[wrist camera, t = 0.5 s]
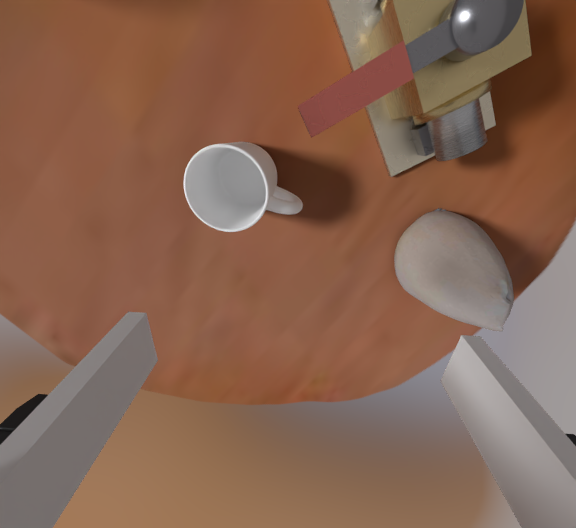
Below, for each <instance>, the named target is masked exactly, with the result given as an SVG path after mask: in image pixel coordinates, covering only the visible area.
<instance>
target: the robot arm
mask: <svg viewBox="0 0 576 528" xmlns="http://www.w3.org/2000/svg"><path fill="white" fill-rule="evenodd" d="M157 361H158V359H157V355H156V351H155V347H154V343H153V339H152V335H151V330H150V326H149V322H148V318H147V314H146V313H138V312H128V313H127V314H126V315H125V316H124V317H123V318H122V319H121V320H120V321H119V322H118V323H117V324H116V325H115V326H114V327H113V328H112V329H111V330H110V331H109V332H108V333H107V334H106V336H105V337H104V338H103V339H102V340H101V341H100V342H99V343H98V344H97V345H96V346H95V347H94V348H93V349H92V350H91V351H90V352H89V353H88V354H87V355H86V356H85V357H84V358H83V359H82V361H81V362H80V363H79V364H78V365H77V366H76V367H75V368H74V369H73V370H72V371H71V372H70V373H69V374H68V375H67V376H66V377H65V378H64V380H62V381H61V383H60V384H59V385H57V387H56V388H55V389H54V390H53V391H52V392H51V393H50V394H49V395H44V394H38V395H36V396H35V397H33V398H32V399H30V400H29V401H27V402H26V403H24V404H23V405H22V406H20V407H19V408H17V409H16V410H15V411H14V412H13V413H12V414H11V415H10V416H9V417H8V418H6V419H5V420H4V421H3V422H2V423H1V424H0V528H53V526H54V525H55V523H56V522H57V520H58V518H59V517H60V515H61V514H62V512H63V510H64V509H65V507H66V506H67V504H68V503H69V501H70V499H71V498H72V496H73V494H74V493H75V491H76V490H77V488H78V487H79V485H80V483H81V482H82V480H83V479H84V477H85V475H86V474H87V472H88V471H89V469H90V467H91V466H92V464H93V463H94V461H95V460H96V458H97V456H98V455H99V453H100V452H101V450H102V448H103V447H104V445H105V444H106V442H107V440H108V439H109V437H110V436H111V434H112V432H113V431H114V429H115V428H116V426H117V424H118V423H119V421H120V420H121V418H122V416H123V415H124V413H125V412H126V410H127V409H128V407H129V405H130V404H131V402H132V401H133V399H134V397H135V396H136V394H137V393H138V391H139V390H140V388H141V386H142V385H143V383H144V382H145V380H146V378H147V377H148V375H149V374H150V372H151V370H152V369H153V367H154V366H155V364H156V362H157ZM441 383H442V385H443V387H444V389H445V390H446V392H447V394H448V396H449V398H450V399H451V401H452V403H453V405H454V407H455V408H456V410H457V412H458V414H459V415H460V417H461V419H462V421H463V423H464V425H465V426H466V428H467V430H468V432H469V434H470V435H471V437H472V439H473V441H474V442H475V444H476V446H477V448H478V450H479V452H480V453H481V455H482V457H483V459H484V461H485V462H486V464H487V466H488V468H489V470H490V471H491V473H492V475H493V477H494V478H495V481H496V482H497V484H498V486H499V488H500V490H501V491H502V493H503V495H504V497H505V499H506V500H507V502H508V504H509V506H510V507H511V509H512V511H513V513H514V515H515V517H516V518H517V520H518V522H519V524H520V526H521V527H522V528H576V436H575V435H574V434H565V433H564V432H563V431H562V430H561V429H560V428H559V426H558V425H557V424H556V423H555V422H554V421H553V420H552V418H551V417H550V416H549V415H548V414H547V413H546V411H545V410H544V409H543V408H542V407H541V406H540V405H539V403H538V402H537V401H536V400H535V399H534V398H533V396H532V395H531V394H530V393H529V392H528V391H527V390H526V388H525V387H524V386H523V385H522V384H521V383H520V382H519V380H518V379H517V378H516V377H515V376H514V375H513V374H512V372H511V371H510V370H509V369H508V368H507V367H506V365H505V364H503V362H502V361H501V360H500V359H499V357H498V356H497V355H496V354H495V353H494V352H493V350H491V348H490V347H489V346H488V345H487V344H486V342H485V341H484V340H483V339H482V338H481V337H480V336H465V335H461V337H460V340H459V342H458V344H457V346H456V348H455V351H454V353H453V355H452V357H451V359H450V361H449V364H448V366H447V368H446V370H445V372H444V375H443V377H442V379H441Z"/></svg>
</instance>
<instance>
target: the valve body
mask: <svg viewBox="0 0 576 528" xmlns="http://www.w3.org/2000/svg"><path fill="white" fill-rule="evenodd" d="M451 1H452V0H327V2H328V5H329V8H330V11H331V14H332V16H333V19H334V22H335V25H336V28H337V31H338V33H339V36H340V39H341V42H342V45H343V48H344V50H345V53H346V56H347V59H348V62H349V64H350V67H351V70H352V72H353V71H355V70H357V69H358V68H360V67H361V66H363V65H365V64H366V63H368V62H369V61H371V60H373V59H374V58H376V57H378V56H379V55H381V54H382V53H384V52H386V51H387V50H389V49H390V48H392V47H394V46H395V45H397V44H399V43H400V42H402V41H403V40H404V43H405V45H407V44H408V43H410V42H412V41H413V40H415V39H416V38H418V37H420V36H421V35H423V34H425V33H426V32H428V31H429V30H431V29H433V28H434V27H436V26H438V25H439V21H440V18H441V16H442V14H443V12H444V10H445V9H446V7H447V6H448V5H449V3H450V2H451ZM530 56H532V54H531V45H530V36H529V28H528V19H527V11H526V2H525V0H524V4H523V8H522V12H521V15H520V18H519V20H518V22H517V24H516V25H515V27H514V29H513V30H512V31H511V33H510V34H509V35H508V36H507V37H506V38H505V39H504V40H503V41H502V42H501V43H500V44H498V45H497V46H495V47H493V48H491V49H489V50H487V51H485V52H482V53H480V54H478V55H476V56H474V57H472V58H470V59H467V60H464V61H452V60H450V59H448V58H446V57H445V56H442V57H441V58H439V59H437V60H436V61H434V62H432V63H430V64H429V65H427V66H425V67H424V68H422V69H420V70H418V71H417V72H415V73H413V76H414V79H412V80H410V81H409V82H407V83H405V84H403V85H402V86H400V87H398V88H396V89H395V90H393V91H391V92H390V93H388V94H386V95H384V96H383V97H381V98H379V99H377V100H376V101H374V102H372V103H370V104H369V105H367V106H365V110H366V112H367V115H368V118H369V121H370V124H371V127H372V129H373V132H374V135H375V138H376V141H377V144H378V146H379V149H380V152H381V155H382V158H383V160H384V163H385V166H386V169H387V172H388V175H389V176H390V177H392V176H394V175H396V174H398V173H400V172H402V171H404V170H406V169H408V168H410V167H412V166H414V165H416V164H418V163H420V162H422V161H425V160H427V159H429V158H431V157H433V156H436V160H437V161H446V160H451V159H454V158H458V157H461V156H463V155H466V154H468V153H471V152H473V151H475V150H477V149H478V148H480V147H482V146H483V145H484V144H486V142H487V137H486V131H485V130H487V129H489V128H491V127H493V126H495V125H496V123H495V117H494V112H493V106H492V100H491V95H490V90H491V89H492V84H491V79H490V78H491V77H493V76H495V75H496V74H498V73H500V72H502V71H504V70H506V69H508V68H509V67H511V66H513V65H515V64H517V63H519V62H521V61H522V60H524V59H526V58H528V57H530Z"/></svg>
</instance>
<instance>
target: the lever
mask: <svg viewBox="0 0 576 528" xmlns="http://www.w3.org/2000/svg"><path fill="white" fill-rule="evenodd" d="M523 4H524V0H452V1H451V2H450V3H449V5H448V6H447V7H446V9H445V10H444V12H443V14H442V16H441V18H440V21H439V25H438V26H436V27H434V28H433V29H431V30H429V31H428V32H426V33H425V34H423V35H421V36H420V37H418V38H416V39H415V40H413V41H412V42H410V43H408V44H407V45H405V43H404V40H403V41H402V42H400V43H399V44H397V45H395V46H394V47H392V48H390V49H389V50H387V51H386V52H384V53H382V54H381V55H379V56H378V57H376V58H374V59H373V60H371V61H369V62H368V63H366V64H365V65H363V66H361V67H360V68H358V69H357V70H355V71H353V72H352V73H350V74H349V75H347V76H345V77H344V78H342V79H340V80H339V81H337V82H336V83H334V84H332V85H331V86H329V87H328V88H326V89H324V90H323V91H321V92H320V93H318V94H316V95H315V96H313V97H311V98H310V99H308V100H307V101H305V102H303V103H302V104H300V105H299V106H298V109H299V112H300V114H301V116H302V118H303V121H304V123H305V125H306V127H307V129H308V132H309V134H310V136H311V137H313V136H315V135H317V134H319V133H320V132H322V131H324V130H325V129H327V128H329V127H331V126H332V125H334V124H336V123H338V122H339V121H341V120H343V119H345V118H346V117H348V116H350V115H351V114H353V113H355V112H357V111H358V110H360V109H362V108H364V107H365V106H367V105H369V104H370V103H372V102H374V101H376V100H377V99H379V98H381V97H383V96H384V95H386V94H388V93H390V92H391V91H393V90H395V89H396V88H398V87H400V86H402V85H403V84H405V83H407V82H409V81H410V80H412V79H414V76H413V73H415V72H417V71H418V70H420V69H422V68H424V67H425V66H427V65H429V64H430V63H432V62H434V61H436V60H437V59H439V58H441V57H442V56H445V57H446V58H448V59H450V60H452V61H464V60H467V59H470V58H472V57H474V56H476V55H478V54H480V53H482V52H485V51H487V50H489V49H491V48H493V47H495V46H497V45H498V44H500V43H501V42H502V41H503V40H504V39H505V38H506V37H507V36H508V35H509V34H510V33H511V31H512V30H513V29H514V27H515V25H516V24H517V22H518V20H519V18H520V15H521V12H522V8H523Z"/></svg>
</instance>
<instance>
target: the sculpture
mask: <svg viewBox="0 0 576 528" xmlns="http://www.w3.org/2000/svg"><path fill="white" fill-rule="evenodd" d="M441 209H442V208H441ZM441 209H439V208H438V209H436V210H435V211H433V212H429V213H426V214H424V215H423V216H422V217H419V218H418V219H417V220H416V221H415V222H414V223H413V224H412V225H411V226H410V227H408V228H407V229H406V230H405V231H404V233H403V234H402V236H401V238H400V239H399V241H398V244H397V247H396V250H395V256H394V262H395V271H396V275H397V278H398V280H399V282H400V284H401V285H402V287H403V288H404V289H405V290H406V291H407V292H408V293H409V294H411V295H412V296H414V297H415V298H417V299H419V300H420V301H422V302H423V303H425V304H426V305H428V306H429V307H431V308H432V309H434V310H436V311H438V312H440V313H442V314H444V315H446V316H449V317H451V318H453V319H456V320H458V321H461V322H464V323H468V324H472V325H475V326H479V327H482V328H485V329H489V330H493V331H503V325H504V323H505V321H506V319H507V318H508V316H509V314H510V311H511V308H512V305H513V301H514V295H513V286H512V280H511V277H510V274H509V272H508V269H507V267H506V265H505V261H504V259H503V257H502V255H501V254H500V252H499V251H498V249H497V247H496V246H495V244H494V243H493V241H492V240H491V239H490V237H489V236H488V235H487V234H486V232H485V231H484V230H483V229H482V228H481V227H479V226H478V225H477V224H476V223H475V222H473V221H471V220H470V219H468V218H466V217H463V216H461V215H459V214H456V213H453V212H449V211H446V210H442V211H440V210H441Z"/></svg>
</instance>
